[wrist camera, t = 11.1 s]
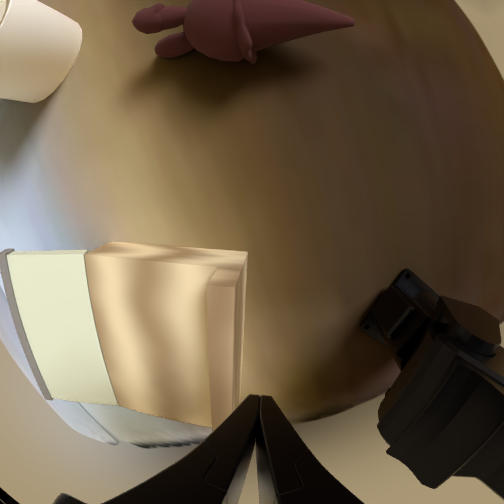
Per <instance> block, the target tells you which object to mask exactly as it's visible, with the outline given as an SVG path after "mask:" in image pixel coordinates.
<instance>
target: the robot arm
mask: <svg viewBox="0 0 504 504" xmlns="http://www.w3.org/2000/svg"><path fill="white" fill-rule="evenodd" d="M407 273H409V275H408V276H407V277H405V276H406V274H407ZM367 324H368V326H367V327H364V326H365V325H367ZM360 327H361V329H362V331H363V332H365V333H366V334H368V335H370V336H371V337H373V338H374V339H376V340H378V341H379V342H381V343H382V344H384V345H385V346H387V347H388V349H389V350H390V352H391V354H392V356H393V358H394V359H395V361H396V363H397V365H398V367H399V369H400V370H401V373H400V374H399V376H398V377H397V379H396V381H395V382H394V384H393V385H392V387H391V388H389V389H388V391H387V392H386V393H385V398H384V399H383V401H382V402H381V404H380V407H379V409H378V418H379V423H378V424H377V428H378V429H379V432H380V434H381V436H382V437H383V439H384V440H385V441H386V443H387V444H388V445H390V448H388V449H387V450H386V453H387V454H389V455H390V456H392V457H394V458H396V459H398V460H399V461H401V462H402V463H403V464H405V465H406V466H407V467H408V468H409V469H410V470H411V471H412V472H413V474H414V475H415V476H416V478H417V479H418V480H419V481H420V483H421V484H423V485H425V486H427V487H430V488H433V489H435V488H438V487H439V486H440V485H441V484H443V483H444V482H445V481H446V480H448V479H449V478H450V477H451V476H455V477H474V478H476V479H478V480H480V481H481V482H482V483H484V484H485V485H486V486H487V487H488V488H490V489H491V490H492V491H493V492H494V493H496V494H497V495H498V496H499V497H500V498H501V499H503V500H504V348H503V347H501V346H500V344H501V335H500V328H499V321H498V319H496V318H495V317H493V316H492V315H491V314H489V313H488V312H486V311H485V310H483V309H482V308H480V307H478V306H475V305H472V304H468V303H465V302H461V301H458V300H455V299H451V298H448V297H445V296H441V295H440V297H439V296H438V295H437V294H436V293H435V292H434V291H433V290H432V289H431V288H430V287H429V286H427V285H426V284H425V283H424V282H423V281H422V280H421V279H420V278H419V277H417V276H416V275H415V274H414V273H413V272H412V271H411V270H409V269H404V270H403V271H402V272H401V274H400V275H399V276H398V278H397V279H396V280H395V282H394V283H393V284H392V286H390V287H389V288H388V289H387V291H386V292H385V293H384V294H383V296H382V297H381V298H380V299H379V301H378V302H377V303H376V304H375V306H374V307H373V308H372V311H371V312H370V313H369V314H368V315H367V317H366V318H365V319H364V320H363V321H362V323H361V325H360ZM256 432H257V433H256ZM255 441H256V460H257V476H258V490H259V504H364V503H363V502H362V501H361V500H359V499H358V498H357V497H356V496H355V495H353V494H352V493H351V492H350V491H349V490H348V489H347V488H346V487H344V486H343V485H342V484H341V483H340V482H339V481H338V480H337V479H336V478H335V477H333V475H331V474H330V473H329V472H328V471H327V470H326V469H325V468H324V467H323V466H322V465H321V463H320V462H319V461H318V460H317V459H316V457H315V456H314V455H313V454H312V452H311V451H310V450H309V449H308V447H307V446H306V445H305V443H304V442H303V441H302V439H301V438H300V437H299V435H298V434H297V432H296V431H295V430H294V428H293V427H292V425H291V424H290V423H289V421H288V420H287V418H286V417H285V415H284V414H283V413H282V411H281V410H280V408H279V407H278V405H277V404H276V402H275V401H274V399H273V398H272V397H271V396H264V395H262V396H259V395H252V394H250V395H248V396H247V397H246V398H245V400H244V401H243V402H242V403H241V404H240V405H239V406H238V407H237V408H236V409H235V410H234V411H233V412H232V413H231V414H230V415H229V416H228V417H227V418H226V419H225V420H224V421H223V422H222V423H221V424H220V425H219V426H218V427H217V428H216V429H215V430H214V431H213V432H212V433H211V434H210V435H209V436H208V437H207V438H206V439H205V440H204V441H202V442H201V443H200V444H199V445H198V446H197V447H196V448H195V449H193V450H192V451H191V452H190V453H189V454H187V455H186V456H184V457H183V458H182V459H180V460H179V461H177V462H176V463H174V464H173V465H171V466H169V467H168V468H166V469H164V470H163V471H161V472H160V473H158V474H156V475H155V476H153V477H151V478H149V479H148V480H146V481H144V482H143V483H141V484H139V485H137V486H135V487H133V488H132V489H130V490H128V491H126V492H124V493H122V494H120V495H118V496H116V497H114V498H112V499H110V500H108V501H106V502H104V503H102V504H238V501H239V498H240V495H241V491H242V488H243V485H244V481H245V478H246V474H247V471H248V468H249V464H250V461H251V457H252V454H253V450H254V446H255ZM0 504H19V503H18V502H17V501H16V500H14V499H13V498H12V497H11V496H9V495H8V494H7V493H6V492H5V491H4V490H2V489H1V488H0ZM53 504H87V503H84V502H82V501H80V500H78V499H76V498H74V497H72V496H70V495H68V494H65V493H61V494H60V495H59V496H58V497H57V498H56V499H55V501H54V503H53Z"/></svg>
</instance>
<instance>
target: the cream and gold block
mask: <svg viewBox="0 0 504 504" xmlns="http://www.w3.org/2000/svg"><path fill="white" fill-rule="evenodd" d="M84 255H85V264H86V272H87V279H88V285H89V292H90V297H91V303H92V308H93V313H94V318H95V323H96V328H97V332H98V336H99V340H100V345H101V348H102V352H103V356H104V360H105V363H106V367H107V370H108V374H109V377H110V380H111V383H112V386H113V389H114V393H115V395H116V398H117V401H118V404H119V406H122V407H125V408H128V409H132V410H135V411H139V412H142V413H146V414H150V415H154V416H158V417H162V418H166V419H171V420H175V421H180V422H185V423H190V424H196V425H202V426H208V427H212V432H213V431H214V430H215V429H216V428H217V427H218V426H219V425H220V424H221V423H222V422H223V421H224V420H225V419H226V418H227V417H228V416H229V415H230V414H231V413H232V412H233V411H234V410H235V409H236V408H237V407H238V406H239V405H240V402H241V380H242V358H243V337H244V316H245V296H246V276H247V256H248V252H244V251H230V250H217V249H203V248H190V247H176V246H163V245H149V244H136V243H122V242H109V243H107V244H105V245H103V246H101V247H98V248H96V249H94V250H92V251H90V252H88V253H86V254H84Z"/></svg>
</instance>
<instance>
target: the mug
mask: <svg viewBox="0 0 504 504" xmlns="http://www.w3.org/2000/svg"><path fill="white" fill-rule="evenodd" d="M81 42H82V29H81V28H80V26H79V24H78V23H77V22H75V21H73V20H72V19H70V18H68V17H66V16H65V15H63V14H61V13H59V12H58V11H56V10H54V9H52V8H50V7H48V6H46V5H45V4H43V3H41V2H39V1H37V0H0V98H3V99H10V100H17V101H24V102H30V103H36V102H39V101H42V100H44V99H45V98H47V97H48V96H49V95H50V94H52V93H53V92H54V91H55V90H56V89H57V87H58V86H59V85H60V84H61V83H62V82H63V81H64V79H65V78H66V76H67V74H68V73H69V71H70V70H71V68H72V67H73V64H74V62H75V60H76V58H77V56H78V53H79V50H80V46H81Z"/></svg>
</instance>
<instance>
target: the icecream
mask: <svg viewBox="0 0 504 504" xmlns="http://www.w3.org/2000/svg"><path fill="white" fill-rule="evenodd" d="M132 23H133V25H134V27H135V28H136V29H137V30H138V31H140V32H143V33H146V34H151V33H157V32H160V31H162V30H166V29H171V28H175V27H178V26H180V25H182V24H183V30H184V32H181V33H177V34H173V35H169V36H167V37H165V38H164V39H162V40H160V41H158V43H157V45H156V47H155V53H156V54H157V55H158V56H160V57H163V58H171V57H178V56H180V55H182V54H185V53H187V52H190V51H192V50H193V49H196V50H198V51H200V52H201V53H203V54H204V55H206V56H208V57H211V58H214V59H217V60H220V61H240V60H242V59H244V58H246V59H247V60H248V61H249V62H251V63H252V64H254V63H255V62H256V61H257V51H259V50H262V49H265V48H268V47H271V46H274V45H277V44H280V43H283V42H287V41H290V40H294V39H297V38H301V37H304V36H308V35H312V34H316V33H320V32H325V31H330V30H335V29H340V28H346V27H351V26H354V25H355V20H354V19H352V18H350V17H348V16H346V15H343V14H341V13H338V12H336V11H333V10H330V9H327V8H325V7H322V6H319V5H316V4H313V3H309V2H306V1H303V0H192V1H191V3H190V4H189V5H188V8H185V7H176V6H168V7H165V6H164V5H162V4H155V5H153V6H152V7H150V8H145V9H142V10H140V11H139V12H137V13H136V15H135V17H134V18H133V20H132Z"/></svg>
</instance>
